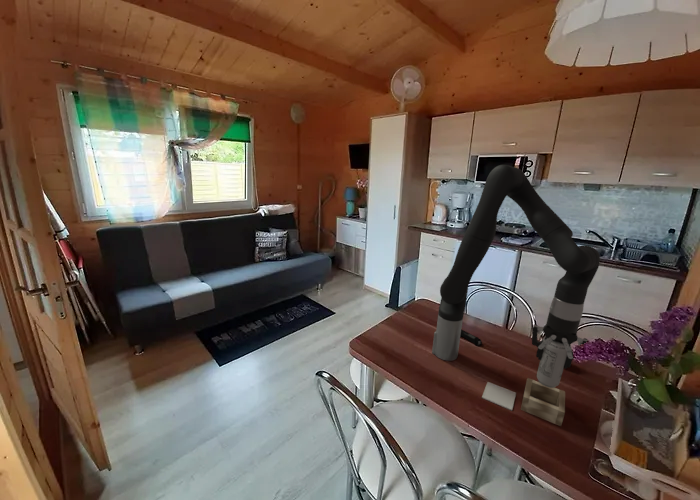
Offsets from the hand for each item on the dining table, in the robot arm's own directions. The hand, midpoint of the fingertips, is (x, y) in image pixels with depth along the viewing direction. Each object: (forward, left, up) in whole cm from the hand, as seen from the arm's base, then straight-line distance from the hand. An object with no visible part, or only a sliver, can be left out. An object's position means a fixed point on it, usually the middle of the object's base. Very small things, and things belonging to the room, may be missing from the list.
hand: (552, 362), depth 92 cm
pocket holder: (0, 0, -17) cm, 17 cm away
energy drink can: (0, 0, -7) cm, 7 cm away
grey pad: (-12, -3, -17) cm, 21 cm away
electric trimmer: (-31, +27, -17) cm, 44 cm away
